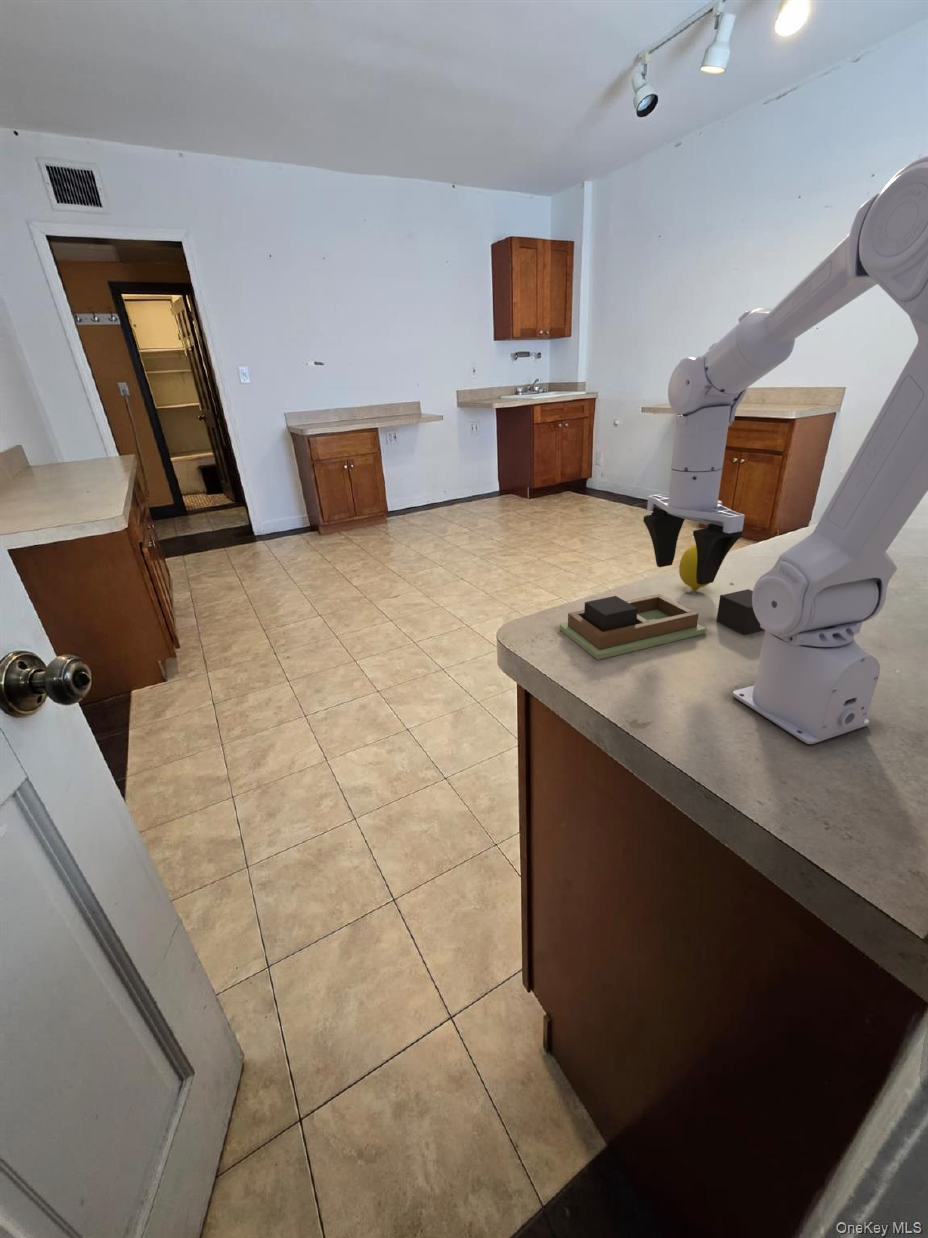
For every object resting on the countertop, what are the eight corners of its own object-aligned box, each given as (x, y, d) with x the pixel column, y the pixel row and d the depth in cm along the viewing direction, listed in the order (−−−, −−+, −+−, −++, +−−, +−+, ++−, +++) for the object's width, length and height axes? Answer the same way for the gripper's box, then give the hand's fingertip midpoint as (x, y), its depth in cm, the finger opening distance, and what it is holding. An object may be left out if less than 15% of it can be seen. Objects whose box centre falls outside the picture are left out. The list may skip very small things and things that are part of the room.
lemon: (717, 596, 81) (724, 548, 77) (679, 596, 82) (685, 548, 79) (709, 584, 86) (716, 537, 82) (674, 583, 87) (679, 538, 83)
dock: (706, 633, 70) (708, 614, 69) (597, 660, 65) (598, 640, 64) (658, 607, 79) (659, 590, 77) (559, 629, 74) (559, 611, 73)
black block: (772, 627, 70) (778, 600, 68) (743, 635, 69) (748, 607, 67) (743, 614, 74) (748, 588, 73) (715, 621, 73) (719, 595, 71)
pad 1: (635, 635, 69) (637, 608, 67) (603, 642, 68) (604, 615, 66) (614, 621, 73) (615, 595, 72) (583, 628, 72) (584, 601, 70)
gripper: (773, 471, 57) (752, 585, 63) (681, 458, 70) (671, 554, 75) (722, 479, 55) (705, 596, 61) (637, 464, 68) (630, 562, 73)
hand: (683, 573), depth 68 cm, fingers open, 7 cm apart
